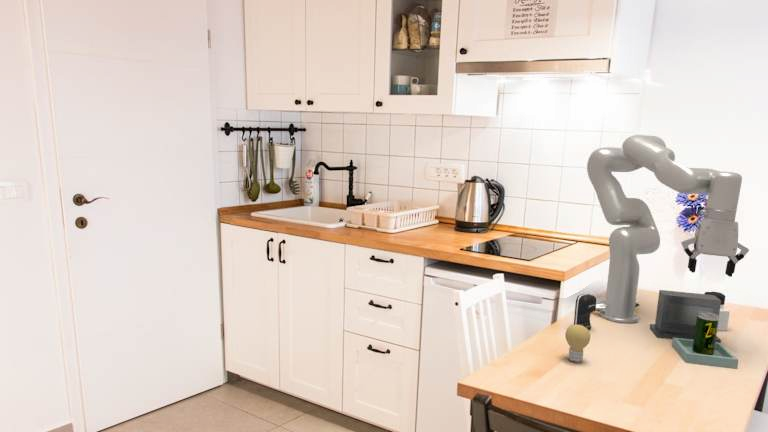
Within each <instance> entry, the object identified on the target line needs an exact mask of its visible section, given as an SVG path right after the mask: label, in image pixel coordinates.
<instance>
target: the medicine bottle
mask: <svg viewBox="0 0 768 432" xmlns="http://www.w3.org/2000/svg"><path fill="white" fill-rule="evenodd" d="M703 294H707V295H714V296H716V297H717V298H718V299H720V300H721V305H720V312H719V321H718V328H717V332H726V331H728V325H729V319H730V310H729V309H727V308H725V301H726V295H725V294H724V293H722V292H719V291H713V290H708V291H705V292H704V293H703Z"/></svg>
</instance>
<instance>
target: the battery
mask: <svg viewBox="0 0 768 432" xmlns="http://www.w3.org/2000/svg"><path fill="white" fill-rule="evenodd" d="M596 303H597V297H596V296H595V295H594V294H590V293H583V294H582V293H581V294H579V295H578V296H576V301H575V307H574V316H573V317H574V318H573V325H582V326H584V327H586V328H587V329H588V330H592V325H591V313H595V312H596V311H597V310H596Z"/></svg>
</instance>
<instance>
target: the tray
mask: <svg viewBox="0 0 768 432" xmlns="http://www.w3.org/2000/svg"><path fill="white" fill-rule="evenodd" d="M671 340H672V341H671V347H672V348H673V349H674V351H675V352H677V354H678V355H679V356H680V358H681V359H682V360H683V361H684V362H685V363H687V364H695V365H702V366H703V365H704V366H711V367H718V368H727V369H729V368H730V369H738V366H739V359H738V358H737V356H735V355H734V354H733V353H732V352H731V351H730V349H728V348H726V347H725V346H724V345H723V343H722V342H721V343H718V342H715V348H714V355H704V354H695V353H693V351H692V347H693V341H694V340H691V339H682V338H673V339H671Z"/></svg>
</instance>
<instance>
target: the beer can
mask: <svg viewBox="0 0 768 432" xmlns="http://www.w3.org/2000/svg"><path fill="white" fill-rule="evenodd" d="M718 321H719V319H718V315H717V314H714V313H710V312H704V311H701V312H698V315H697V320H696V327H695V334H694V341H693V347H692V351H693V353H695V354H704V355H714V348H715V341H716V336H717V333H718V331H717V328H718Z"/></svg>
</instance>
